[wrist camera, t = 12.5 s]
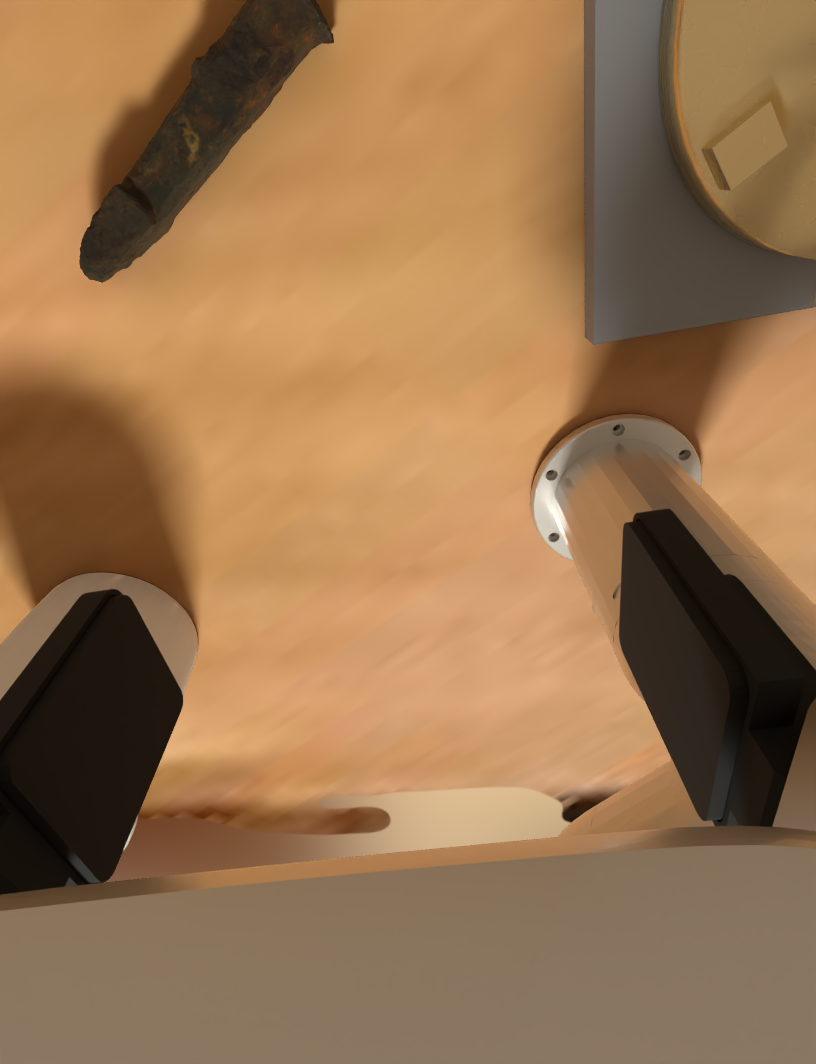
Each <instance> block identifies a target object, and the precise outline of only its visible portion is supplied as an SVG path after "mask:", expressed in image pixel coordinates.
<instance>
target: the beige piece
mask: <svg viewBox="0 0 816 1064" xmlns="http://www.w3.org/2000/svg"><path fill="white" fill-rule="evenodd" d="M658 89H659V97H660V106H661V114H662V121H663V125H664V129H665V133H666V138H667V142H668V146H669V149H670V152H671V155H672V157H673V160H674V162H675V165H676V167H677V170H678V172H679V175H680V176H681V178H682V180H683V182H684V183H685V185H686V187H687V188H688V190H689V192H690V194H691V195H692V197H693V198H694V199H695V201H696V202H697V203H698V204H699V205H700V207H701V208H702V209H703V210H704V212H705V213H706V214H707V215H708V216H709V217H710V218H711V219H712V220H714V221H715V222H716V223H717V224H718V225H719V226H721V227H722V228H723V229H724V230H725V231H727V232H729V233H730V234H732V235H734V236H735V237H737V238H739V239H741V240H742V241H744V242H746V243H749V244H751V245H754V246H757V247H759V248H762V249H765V250H768V251H773V252H778V253H783V254H788V255H793V256H798V257H803V258H809V259H814V260H816V0H665V1H664V6H663V11H662V19H661V29H660V39H659V48H658Z"/></svg>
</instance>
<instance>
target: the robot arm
mask: <svg viewBox="0 0 816 1064" xmlns="http://www.w3.org/2000/svg"><path fill="white" fill-rule="evenodd" d="M616 425H618V426H617V427H616V428H614V427H615V426H616ZM550 470H552V471H551V472H549V473H547V472H548V471H550ZM701 486H702V469H701V464H700V460H699V457H698V455H697V453H696V451H695V449H694V447H693V445H692V444H691V443H690V442H689V441H688V439H687V438H686V437H685V436H684V435H683V434H682V433H681V432H679V431H678V430H677V429H676V428H675V427H674V426H672V425H670V424H668V423H666V422H664V421H662V420H661V419H658V418H654V417H650V416H647V415H640V414H621V415H612V416H608V417H604V418H601V419H597V420H594V421H592V422H590V423H588V424H585V425H583V426H581V427H579V428H577V429H576V430H574V431H573V432H571V433H570V434H569V435H567V436H566V437H564V438H563V439H562V440H561V441H560V442H559V443H558V444H557V445H556V446H555V447H554V448H553V449H552V450H551V451H550V452H549V453H548V455H547V456H546V458H545V459H544V460H543V462H542V463H541V465H540V467H539V469H538V471H537V473H536V475H535V478H534V481H533V485H532V489H531V500H530V506H531V512H532V517H533V520H534V522H535V525H536V528H537V530H538V532H539V534H540V535H541V537H542V539H543V540H544V541H545V542H546V543H547V544H548V546H549V547H550V548H551V549H552V550H554V551H555V552H557V553H558V554H560V555H561V556H563V557H565V558H567V559H570V560H572V561H574V563H575V565H576V567H577V569H578V572H579V574H580V576H581V578H582V581H583V583H584V585H585V587H586V589H587V592H588V594H589V596H590V598H591V601H592V609H593V611H594V612H595V613H596V614H597V615H598V616H599V619H600V621H601V623H602V625H603V628H604V630H605V632H606V634H607V636H608V639H609V641H610V643H611V645H612V648H613V650H614V652H615V654H616V657H617V659H618V661H619V663H620V666H621V668H622V670H623V672H624V674H625V676H626V678H627V680H628V681H629V683H630V685H631V686H632V687H633V689H634V690H635V691H636V693H637V694H638V695H639V696H640V697H641V698H642V699H643V700H644V701H645V702H646V704H647V706H648V709H649V711H650V713H651V715H652V717H653V719H654V721H655V724H656V726H657V728H658V730H659V732H660V734H661V737H662V739H663V741H664V743H665V745H666V747H667V750H668V752H669V754H670V756H671V758H672V759H671V761H669V762H667V763H666V764H664V765H662V766H661V767H659V768H657V769H656V770H654V771H652V772H651V773H649V774H647V775H646V776H644V777H642V778H641V779H639V780H637V781H636V782H634V783H632V784H631V785H629V786H627V787H626V788H624V789H622V790H621V791H619V792H618V793H616V794H614V795H613V796H611V797H609V798H608V799H606V800H604V801H603V802H601V803H599V804H598V805H596V806H595V807H593V808H591V809H590V810H588V811H587V812H585V813H584V814H582V815H581V816H580V817H578V818H577V819H575V820H574V821H573V822H572V823H571V824H570V825H568V827H566V828H565V829H564V830H563V831H562V833H561V834H560V835H559V836H558V837H553V838H543V839H534V840H522V841H512V842H501V843H491V844H481V845H470V846H459V847H450V848H438V849H428V850H417V851H408V852H396V853H386V854H377V855H366V856H356V857H347V858H336V859H326V860H316V861H306V862H297V863H287V864H278V865H267V866H257V867H247V868H238V869H228V870H218V871H209V872H199V873H190V874H180V875H171V876H161V877H153V878H143V879H133V880H124V881H115V882H105V881H107V880H108V879H109V878H110V877H111V876H112V875H113V873H114V871H115V869H116V866H117V864H118V862H119V859H120V857H121V854H122V852H123V850H124V847H125V845H126V842H127V840H128V837H129V835H130V833H131V830H132V828H133V825H134V823H135V821H136V818H137V816H138V813H139V811H140V809H141V806H142V804H143V801H144V799H145V796H146V794H147V792H148V789H149V787H150V784H151V782H152V780H153V777H154V775H155V772H156V770H157V768H158V765H159V763H160V760H161V758H162V755H163V753H164V751H165V748H166V746H167V743H168V741H169V739H170V736H171V734H172V731H173V729H174V726H175V724H176V722H177V719H178V717H179V714H180V712H181V709H182V706H183V695H182V691H181V688H180V687H179V685H178V683H177V681H176V679H175V677H174V676H173V674H172V672H171V670H170V668H169V666H168V665H167V663H166V661H165V659H164V657H163V655H162V654H161V652H160V650H159V648H158V646H157V644H156V643H155V641H154V639H153V637H152V635H151V633H150V632H149V630H148V628H147V626H146V624H145V622H144V621H143V619H142V617H141V615H140V613H139V611H138V610H137V608H136V606H135V604H134V602H133V600H132V599H131V598H130V597H129V596H128V595H123V594H122V593H121V592H120V591H119V590H117V589H109V590H102V591H95V592H88V593H84V594H82V595H81V596H80V597H79V598H78V600H77V601H76V602H75V603H74V605H73V606H72V607H71V609H70V610H69V611H68V613H67V614H66V615H65V616H64V618H63V619H62V620H61V622H60V623H59V624H58V626H57V627H56V628H55V629H54V631H53V632H52V633H51V635H50V636H49V637H48V639H47V640H46V641H45V642H44V644H43V645H42V646H41V648H40V649H39V650H38V652H37V653H36V654H35V655H34V657H33V658H32V659H31V661H30V662H29V663H28V665H27V666H26V667H25V668H24V670H23V671H22V672H21V674H20V675H19V676H18V678H17V679H16V680H15V681H14V683H13V684H12V685H11V687H10V688H9V689H8V691H7V692H6V693H5V694H4V696H3V697H2V698H1V700H0V1064H816V605H815V604H814V603H813V602H812V601H811V600H810V599H809V598H808V597H807V596H806V595H805V594H804V593H803V592H802V591H801V590H800V589H799V588H798V587H797V586H796V585H795V584H794V583H793V582H792V581H791V580H790V579H789V578H788V577H787V576H786V575H785V574H784V573H783V572H782V570H781V569H780V568H779V567H778V566H777V565H776V564H775V563H774V562H773V561H772V560H771V559H770V558H769V557H768V556H767V555H766V554H765V553H764V552H763V551H762V550H761V549H760V548H759V547H758V546H757V545H756V543H755V542H754V541H753V540H752V539H751V538H750V537H749V536H748V535H747V534H746V533H745V532H744V531H743V530H742V529H741V528H740V527H739V526H738V525H737V524H736V523H735V522H734V521H733V520H732V519H731V518H730V517H729V515H728V514H727V513H726V512H725V511H724V510H723V509H722V508H721V507H720V506H719V505H718V504H717V503H716V502H715V501H714V500H713V499H712V498H711V497H710V496H709V495H708V494H707V493H706V492H705V491H704V490H703V488H702V487H701ZM104 882H105V883H104Z"/></svg>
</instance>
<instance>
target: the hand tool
mask: <svg viewBox="0 0 816 1064" xmlns="http://www.w3.org/2000/svg"><path fill="white" fill-rule="evenodd" d="M321 43H334V39H333V34H332V33H331V30H330V28H329V26H328V23H327V22H326V19H325V17H324V15H323V13H322V11H321V9H320V7H319V5H318V4H317V2H316V1H315V0H247V1H246V3H245V4H244V5H243V6H242V8H241V9H240V11H239V13H238V14H237V15H236V16H235V17H234V19H233V21H232V23H231V25H230V26H229V27H228V29H227V30H226V32H225V33H224V35H223V36H222V37H221V38H220V39H219V40H218V41H217V42H216V43H214V44H213V45H212V46H211V47H210V48H209V51H208V52H207V53H206V54H205V56H203V57H199V58H196V59H195V61H194V63H193V65H192V78H191V81H190V84H189V85H188V87H187V88H186V90H185V91H184V93H183V94H182V96H181V97H180V99H179V100H178V102H177V103H176V104H175V106H174V107H173V108H172V110H171V111H170V113H169V114H168V115H167V117H166V118H165V120H164V122H163V123H162V125H161V127H160V129H159V130H158V131H157V133H156V134H155V135H154V137H153V138H152V140H151V141H150V143H149V144H148V146H147V148H146V149H145V151H144V152H143V154H142V155H141V156H140V158H139V159H138V161H137V162H136V164H135V165H134V167H133V168H132V170H131V171H130V172H129V174H128V175H127V176H126V177H125V179H124V181H123V182H122V184H118V185H115V186H114V187H113V188H112V189H111V190H110V192H109V194H108V195H107V197H106V198H105V199H104V201H103V203H102V206H101V208H100V209H99V210H98V211H97V212H96V213H95V214H94V215H93V217H92V221H91V224H90V227H88V228H87V230H86V232H85V234H84V236H83V239H82V242H81V247H80V252H81V254H80V260H79V262H80V268H81V269H82V270H83V272H84V274H85V275H86V276H87V277H88V278H89V279H90V280H96V281H99V282H102V283H103V282H105V281H107V280H108V279H110V278H111V277H112V276H113V275H114V274H115V273H116V272H118V271H120V270H122V269H126V268H128V267H129V266H130V265H131V264H132V262H133V261H134V260H135V259H136V258H138V257H141V256H142V255H143V254H144V253H145V252H146V251H147V250H148V249H149V248H150V247H151V246H152V245H153V244H154V243H156V242H157V241H158V240H159V239H160V238H161V237H162V236H163V235H165V234H166V233H167V232H168V231H169V230H170V228H171V226H172V224H173V221H174V219H175V217H176V216H177V215H178V213H179V212H180V211H181V210H182V209H183V208H184V206H185V205H186V204H187V203H188V202H189V200H190V199H191V198H192V197H193V196H194V195H195V193H196V192H197V191H198V190H199V189H200V188H201V186H202V185H203V184H204V183H205V181H206V180H207V179H208V178H209V177H210V175H211V174H212V173H213V172H214V171H215V170H216V169H217V168H218V166H219V165H220V164H221V163H222V162H223V160H224V159H225V157H226V156H227V154H228V153H229V151H230V149H231V148H232V147H233V146H234V145H235V144H236V143H237V141H238V140H239V139H240V137H241V136H242V135H243V134H244V133H245V132H246V131H247V130H248V129H250V128H251V126H252V124H253V123H254V122H255V121H256V120H257V119H258V118H259V117H260V116H261V115H262V114H263V112H264V111H265V110H266V109H267V108H268V106H269V105H270V103H271V102H272V100H273V98H274V97H275V95H276V94H277V93H278V92H279V91H280V90H281V88H282V86H283V83H284V82H285V81H286V80H287V78H288V77H289V76H290V75H291V74H292V72H293V71H294V70H295V68H296V67H297V66H298V65H299V63H300V62H301V61H302V60H303V59H304V58H305V57H306V56H307V54H308V53H309V52H310V51H311V50H312V49H313V48H315V47H316V46H318V45H319V44H321Z"/></svg>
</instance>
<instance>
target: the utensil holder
mask: <svg viewBox="0 0 816 1064" xmlns="http://www.w3.org/2000/svg"><path fill="white" fill-rule="evenodd" d="M109 589H117V590H119V591H120V592H121V593H122V594H123V595H128V596H129V597H130V598H131V599H132V600H133V602H134V604H135V606H136V608H137V610H138V611H139V613H140V615H141V617H142V619H143V621H144V622H145V624H146V626H147V628H148V630H149V632H150V633H151V635H152V637H153V639H154V641H155V643H156V644H157V646H158V648H159V650H160V652H161V654H162V655H163V657H164V659H165V661H166V663H167V665H168V666H169V668H170V670H171V672H172V674H173V676H174V677H175V679H176V681H177V683H178V685H179V687H180V688H181V691H182V695H183V694H184V691H185V688H186V685H187V682H188V679H189V677H190V674H191V671H192V668H193V665H194V662H195V659H196V656H197V651H198V637H197V632H196V629H195V626H194V624H193V622H192V620H191V618H190V616H189V615H188V613H187V612H186V611H185V609H184V608H183V607H182V606H181V605H180V604H179V603H178V602H177V601H176V600H175V599H173V598H172V597H171V596H170V595H168V594H167V593H166V592H164V591H163V590H161V589H159V588H158V587H156V586H154V585H152V584H150V583H148V582H145V581H143V580H141V579H137V578H134V577H131V576H126V575H122V574H115V573H102V572H99V573H87V574H82V575H78V576H75V577H72V578H70V579H67V580H66V581H64V582H62V583H61V584H59V585H57V586H56V587H55V588H54V589H53V590H51V591H50V592H49V593H48V594H47V595H46V596H45V597H44V598H43V599H42V600H41V601H40V602H39V603H38V604H37V605H36V606H35V608H34V609H33V610H32V611H31V612H30V613H29V614H28V615H27V616H26V617H25V618H24V619H23V620H22V621H21V622H20V624H19V625H18V626H17V627H16V628H15V629H14V630H13V631H12V632H11V633H10V634H9V636H8V637H7V638H6V639H5V640H4V641H3V642H2V643H1V644H0V700H1V698H2V697H3V696H4V694H5V693H6V692H7V691H8V689H9V688H10V687H11V685H12V684H13V683H14V681H15V680H16V679H17V678H18V676H19V675H20V674H21V672H22V671H23V670H24V668H25V667H26V666H27V665H28V663H29V662H30V661H31V659H32V658H33V657H34V655H35V654H36V653H37V652H38V650H39V649H40V648H41V646H42V645H43V644H44V642H45V641H46V640H47V639H48V637H49V636H50V635H51V633H52V632H53V631H54V629H55V628H56V627H57V626H58V624H59V623H60V622H61V620H62V619H63V618H64V616H65V615H66V614H67V613H68V611H69V610H70V609H71V607H72V606H73V605H74V603H75V602H76V601H77V600H78V598H79V597H80V596H81V595H82V594H84V593H88V592H95V591H102V590H109ZM137 819H138V816H137V818H136V821H135V823H134V825H133V828H132V830H131V833H130V835H129V837H128V840H127V842H126V845H125V847H124V849H125V848H126V846H127V845H128V843H129V841H130V839H131V837H132V834H133V832H134V829H135V826H136V823H137Z"/></svg>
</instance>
